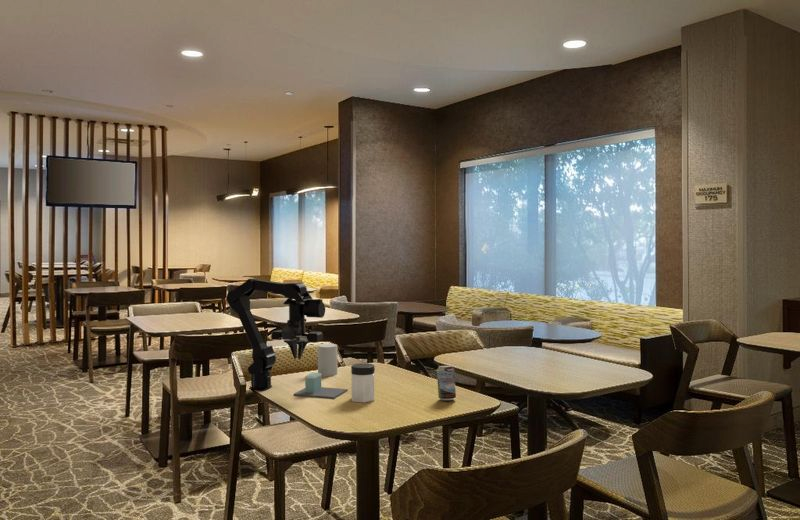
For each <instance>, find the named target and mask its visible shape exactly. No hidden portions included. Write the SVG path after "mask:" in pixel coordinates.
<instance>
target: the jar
mask: <svg viewBox="0 0 800 520" xmlns="http://www.w3.org/2000/svg"><path fill="white" fill-rule="evenodd" d="M350 367H351V369H350V371H351V373H350V374H351V402H353V403H361V404H364V403H369V402H371V403H372V402H375V369H376V368H375V364H372V363H367V362H366V363H365V362H361V363H360V362H359V363H354V364H351V366H350Z"/></svg>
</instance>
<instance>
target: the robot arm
mask: <svg viewBox="0 0 800 520" xmlns="http://www.w3.org/2000/svg"><path fill="white" fill-rule="evenodd" d="M256 291H260V292H261V291H262V292H269V293H273V294H274V293H275V294H280V295H282V296H283V297H286V300H285V301H284V302H283V305H284V306H285V305H288V319H287V321H286V325H285V326H284V327H282V329H277V330H273V331H272V333H271V335H270V338H271V340H274V341H275V340H277V341H279V340H280V339H282V340H283V342H284V343H286V344H287V345H288V347H289V349H290V352H291V354H292V357H293V359H294V360H297V359H298V360H301V358H302V356H303V354H304V352H305V348H306V346H307V345H308V343H309V342H320V341H323V340H324V333H322V331H311V332H308V333H307V329H306V322H307V318H317V319H319V318H321V319H323V318H324V317H325V314H326V306H325V303H324V302H323V299H322V298H316V299H315V298H313V297H312V296H311V294H310V292H309V291H308V289H307V286H306V284H305V283H303V282H279V281H278V282H277V281H271V280H266V279H265V280H264V279H258V278H255V277H254V278H248V279H246V280H245V281H244V282H243V283H242V284H240V285H239V286H237V287H235V288H234V289H233V290H229V291H228V293H227V294H226V297H225V298H226V302H227V304H228V305H229V307H230V308H231V310H232V311H234V312H235V314H237V316H238V318H239V321H240V323H241V326H242V328H243V330H244V332H245V334H246V337H247V339H248V341H249V344H250V345H251V350H252V352H251V353H252V355H251V358H252V361H253V362H252V363H251V364H250V365H249V367H248V368H247V371H248V374H250V381H251V382H250V387H249V388H248V390H254V391H255V390H256V391H265V390H268V389H270V388H272V387H273V385H272V377H271V371H272V369H273V366H274V365H275V364H276V361H277V357H276V356H277V353H275V351H274V347H273V345H269V346H268V345H267V343H265V341H264V339H263V337H262V333H261V332H260V330H259V327H258V325H257V323H256V320H255V318H254V316H253V313H252V311H251V300H250V297H251V296H252V295H253V294H254V293H255V292H256Z"/></svg>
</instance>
